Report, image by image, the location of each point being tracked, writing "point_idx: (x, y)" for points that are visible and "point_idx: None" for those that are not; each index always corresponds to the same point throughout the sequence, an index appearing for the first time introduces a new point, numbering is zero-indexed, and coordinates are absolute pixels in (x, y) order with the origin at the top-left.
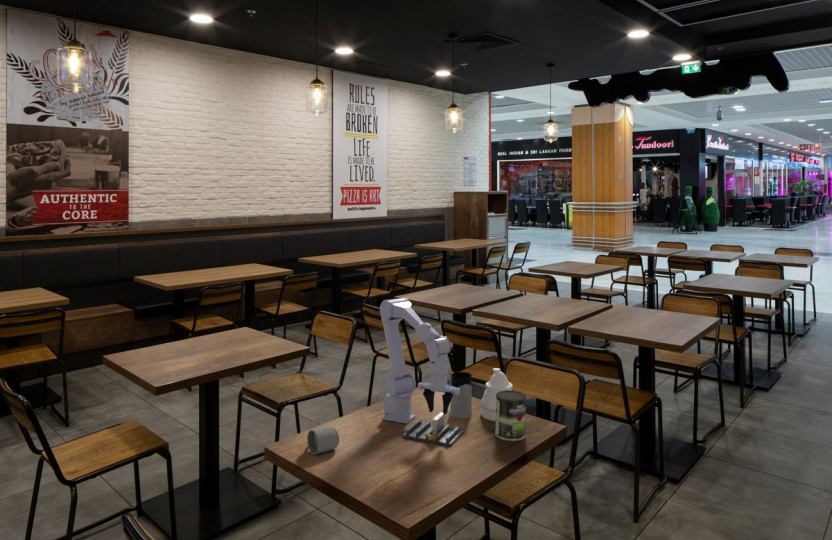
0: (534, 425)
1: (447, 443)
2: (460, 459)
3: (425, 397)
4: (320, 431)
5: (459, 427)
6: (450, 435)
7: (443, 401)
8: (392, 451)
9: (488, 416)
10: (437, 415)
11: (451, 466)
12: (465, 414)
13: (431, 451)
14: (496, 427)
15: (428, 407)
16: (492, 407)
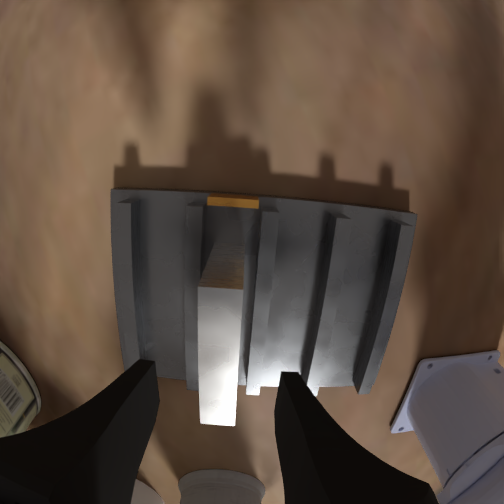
0: None
1: (127, 189)
2: (44, 81)
3: (380, 468)
4: None
5: None
6: (119, 248)
7: (86, 440)
8: (394, 34)
9: None
10: (232, 378)
11: (69, 6)
12: (190, 484)
13: (196, 88)
14: (1, 379)
15: (314, 396)
16: None
